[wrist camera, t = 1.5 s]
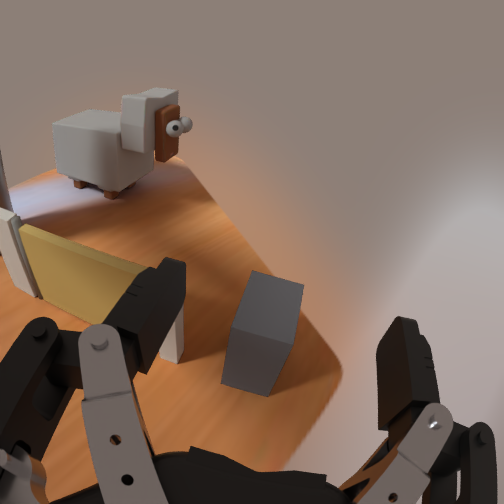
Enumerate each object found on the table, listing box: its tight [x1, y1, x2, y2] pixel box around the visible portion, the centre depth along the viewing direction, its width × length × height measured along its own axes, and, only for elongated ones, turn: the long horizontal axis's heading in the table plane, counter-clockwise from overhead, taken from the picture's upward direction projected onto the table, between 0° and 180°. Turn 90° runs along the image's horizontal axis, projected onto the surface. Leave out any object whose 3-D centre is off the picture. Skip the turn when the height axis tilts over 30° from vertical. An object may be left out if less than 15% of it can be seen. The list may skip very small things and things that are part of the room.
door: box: [18, 223, 148, 325], centre depth 29 cm, size 17×3×11 cm, turn 77°
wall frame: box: [0, 208, 184, 364], centre depth 29 cm, size 26×2×12 cm, turn 76°
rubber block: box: [221, 270, 304, 397], centre depth 29 cm, size 5×7×10 cm
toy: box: [52, 88, 192, 199], centre depth 49 cm, size 11×28×20 cm, turn 71°
